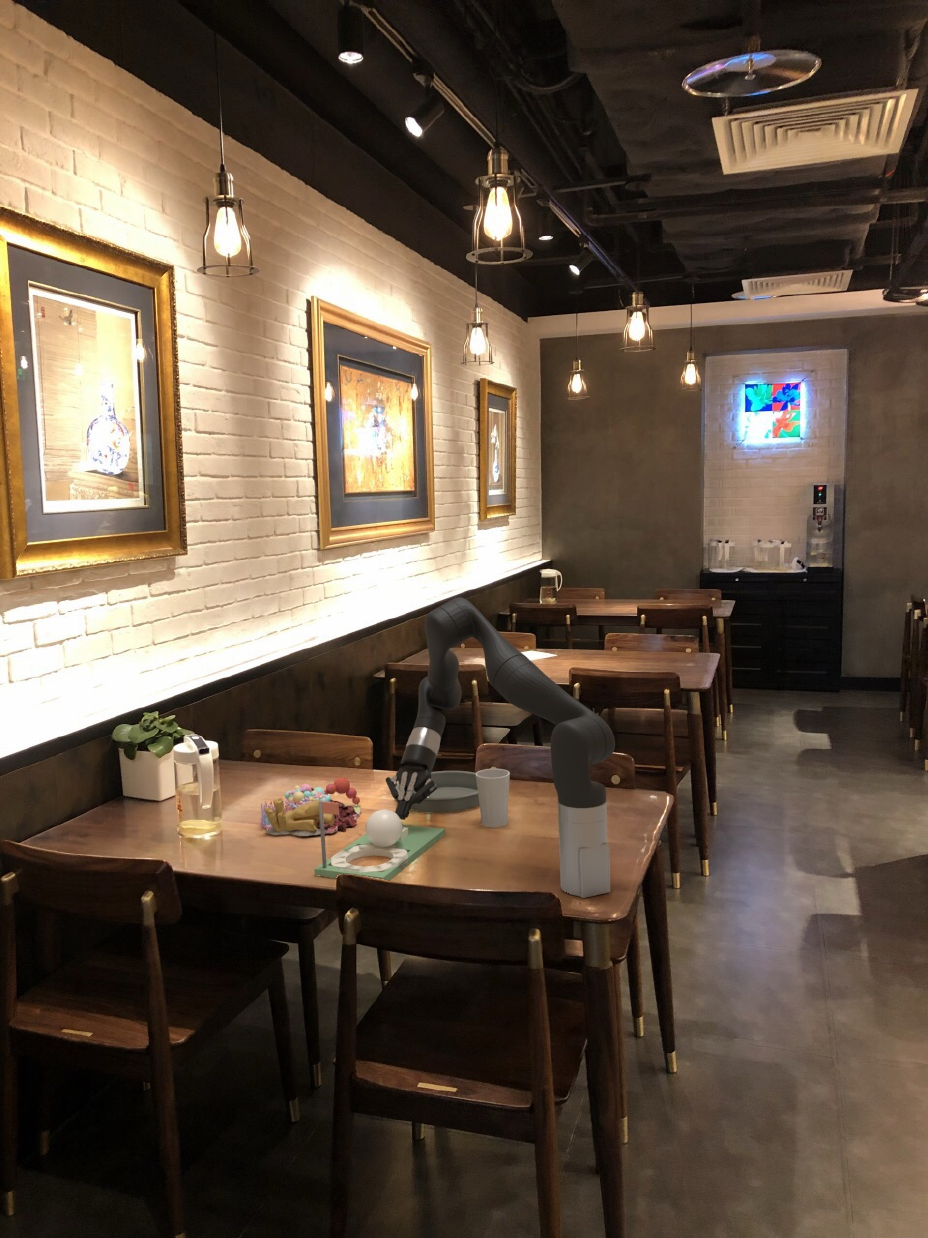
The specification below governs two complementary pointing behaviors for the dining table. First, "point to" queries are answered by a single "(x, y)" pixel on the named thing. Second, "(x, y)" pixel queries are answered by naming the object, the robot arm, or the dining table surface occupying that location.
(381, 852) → the mini golf board
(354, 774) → the dining table surface
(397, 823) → the ball
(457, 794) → the round baking tin
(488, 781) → the cup
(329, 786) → the coral reef model
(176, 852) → the dining table surface
